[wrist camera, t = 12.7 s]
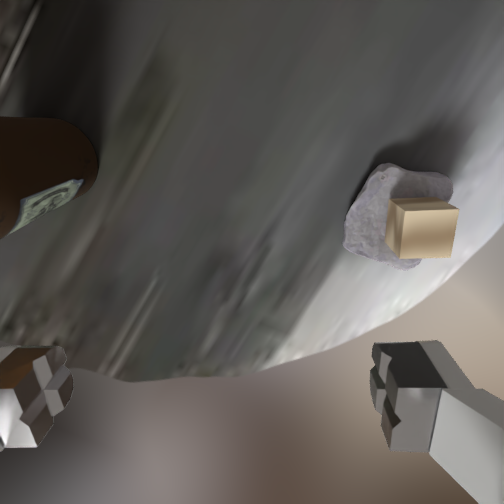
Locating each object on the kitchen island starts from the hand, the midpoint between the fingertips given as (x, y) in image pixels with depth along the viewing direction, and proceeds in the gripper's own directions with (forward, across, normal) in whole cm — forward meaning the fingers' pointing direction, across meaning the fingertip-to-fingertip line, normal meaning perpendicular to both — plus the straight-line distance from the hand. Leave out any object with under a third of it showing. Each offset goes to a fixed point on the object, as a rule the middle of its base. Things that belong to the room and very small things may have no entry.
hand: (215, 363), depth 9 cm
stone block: (+35, -15, +6) cm, 38 cm away
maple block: (+30, -17, +6) cm, 35 cm away
